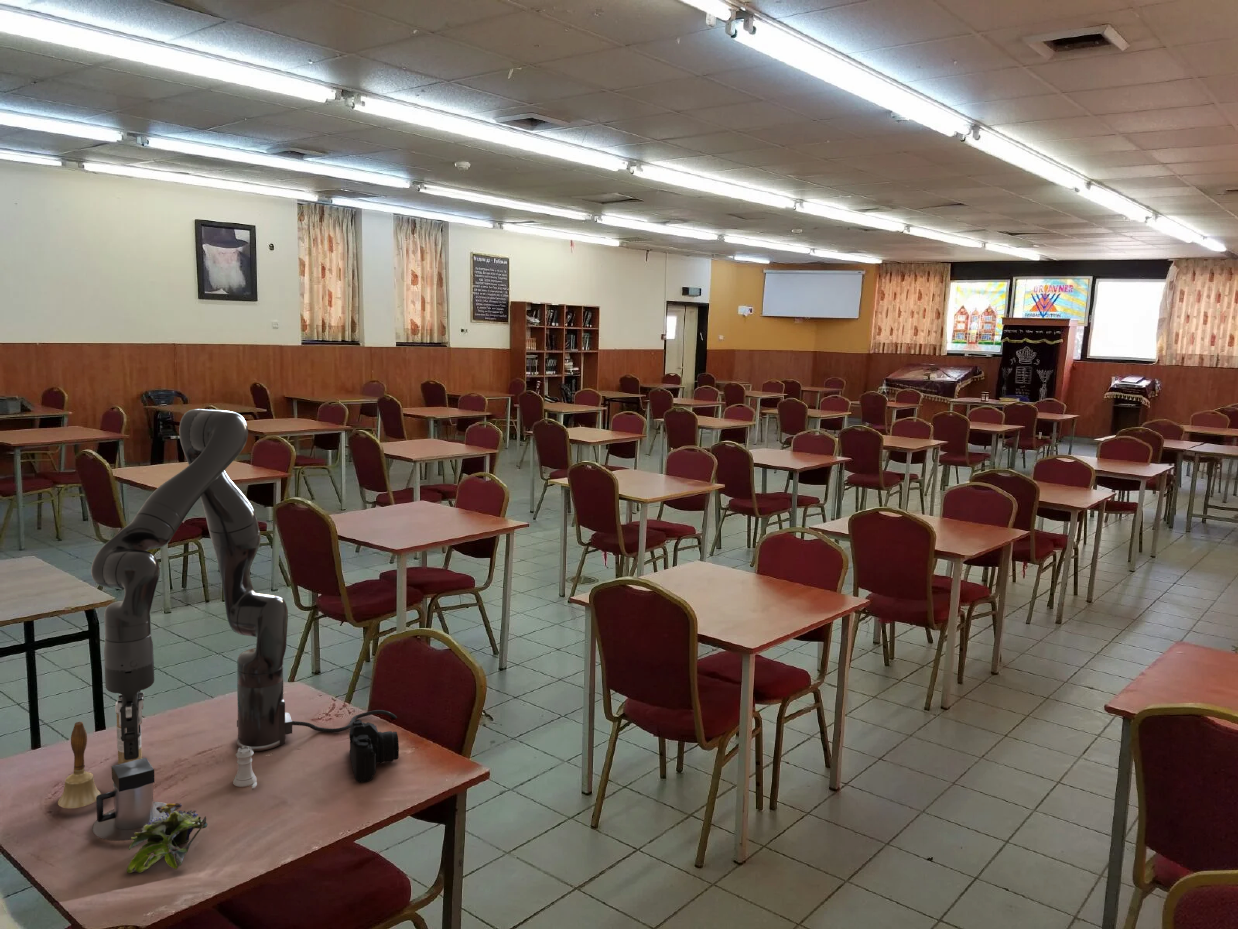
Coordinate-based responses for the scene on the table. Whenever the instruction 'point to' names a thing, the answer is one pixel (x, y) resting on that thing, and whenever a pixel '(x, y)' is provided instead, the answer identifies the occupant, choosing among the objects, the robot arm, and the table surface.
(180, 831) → the passion flower
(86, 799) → the hand bell
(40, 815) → the table surface
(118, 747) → the sprinkles bottle
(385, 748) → the film camera
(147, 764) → the black-lidded handled container
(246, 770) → the rook chess piece
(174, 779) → the table surface
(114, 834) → the disc
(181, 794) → the table surface
